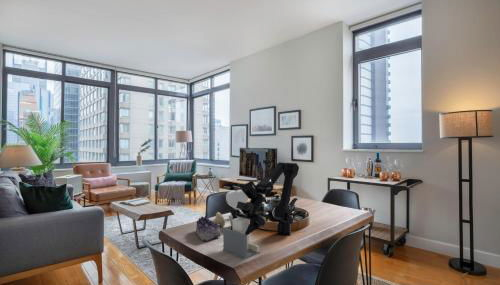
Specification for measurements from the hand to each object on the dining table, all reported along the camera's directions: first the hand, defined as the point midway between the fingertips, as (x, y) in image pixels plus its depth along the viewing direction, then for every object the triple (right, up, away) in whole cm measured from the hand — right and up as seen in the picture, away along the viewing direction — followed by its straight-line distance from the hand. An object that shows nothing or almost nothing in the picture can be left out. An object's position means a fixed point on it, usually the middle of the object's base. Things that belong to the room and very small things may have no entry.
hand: (238, 233), depth 120 cm
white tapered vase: (+1, -8, +2) cm, 8 cm away
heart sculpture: (-3, -9, +56) cm, 57 cm away
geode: (-19, -9, +23) cm, 31 cm away
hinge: (-1, -9, +32) cm, 34 cm away
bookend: (+1, -9, +1) cm, 9 cm away
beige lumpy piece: (-16, -9, +36) cm, 41 cm away
